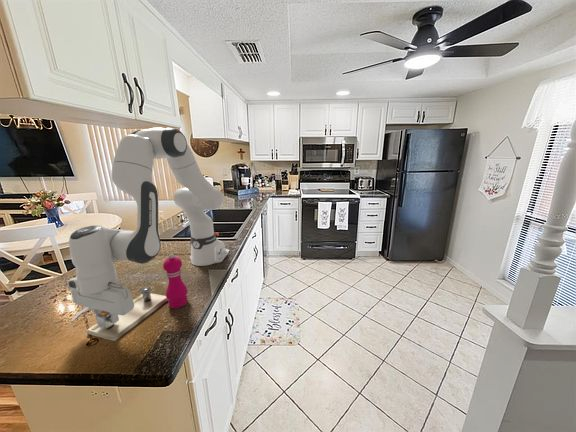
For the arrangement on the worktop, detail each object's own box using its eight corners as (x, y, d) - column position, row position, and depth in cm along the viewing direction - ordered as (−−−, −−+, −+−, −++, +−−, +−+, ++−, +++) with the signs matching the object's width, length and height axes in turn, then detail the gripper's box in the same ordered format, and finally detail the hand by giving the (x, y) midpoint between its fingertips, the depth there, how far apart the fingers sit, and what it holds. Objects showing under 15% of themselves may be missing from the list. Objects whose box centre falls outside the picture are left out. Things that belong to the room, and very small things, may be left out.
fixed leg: (147, 297, 86) (145, 286, 85) (154, 298, 85) (152, 287, 84) (140, 302, 83) (138, 290, 82) (147, 303, 82) (145, 292, 81)
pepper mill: (166, 301, 86) (158, 253, 81) (186, 295, 90) (179, 248, 85) (169, 311, 80) (161, 260, 75) (190, 304, 84) (184, 254, 79)
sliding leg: (112, 320, 73) (108, 306, 72) (119, 322, 72) (115, 307, 71) (99, 329, 69) (95, 314, 68) (106, 331, 69) (102, 316, 67)
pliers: (69, 319, 75) (90, 294, 89) (70, 323, 75) (91, 297, 89) (105, 312, 78) (120, 289, 92) (106, 316, 78) (121, 292, 92)
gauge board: (145, 295, 90) (145, 291, 89) (168, 299, 87) (167, 295, 86) (87, 334, 70) (86, 329, 70) (114, 341, 67) (113, 336, 67)
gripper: (135, 279, 67) (143, 319, 70) (85, 271, 72) (95, 308, 76) (114, 291, 61) (124, 334, 65) (62, 281, 67) (73, 320, 70)
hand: (108, 320), depth 70 cm, fingers open, 4 cm apart
